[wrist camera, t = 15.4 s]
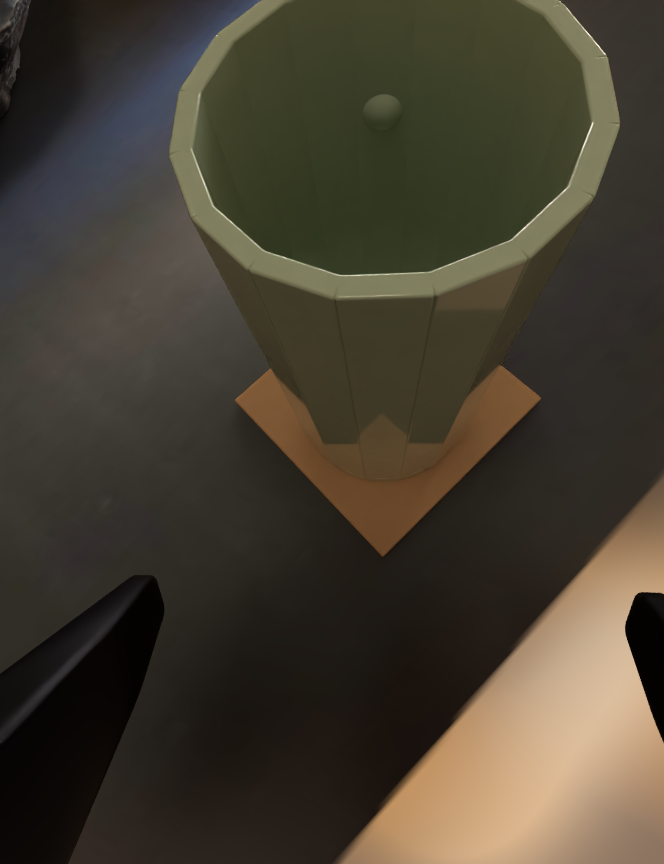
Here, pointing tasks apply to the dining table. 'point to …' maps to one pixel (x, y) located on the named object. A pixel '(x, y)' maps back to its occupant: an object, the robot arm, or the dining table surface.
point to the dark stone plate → (10, 45)
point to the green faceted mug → (391, 200)
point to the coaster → (401, 499)
